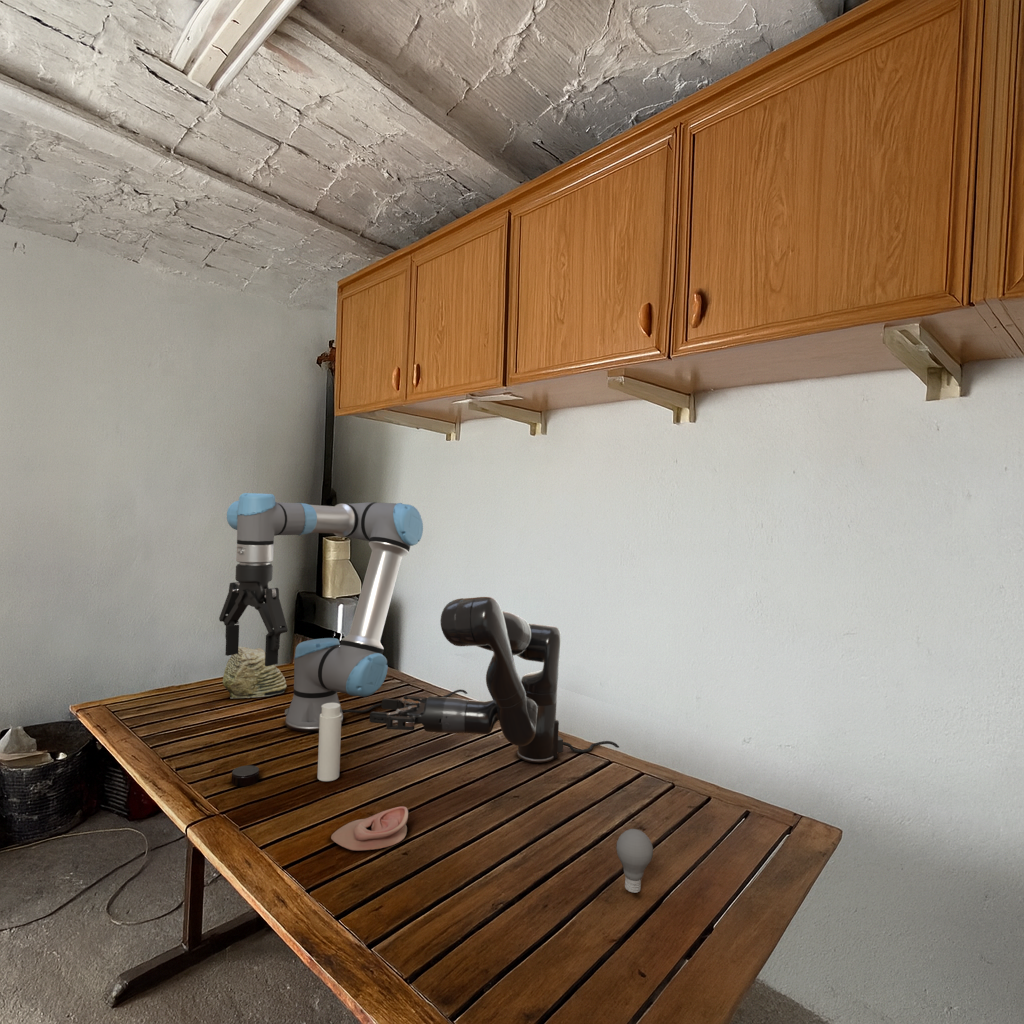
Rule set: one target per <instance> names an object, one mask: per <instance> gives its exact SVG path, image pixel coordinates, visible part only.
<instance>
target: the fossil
mask: <svg viewBox="0 0 1024 1024" xmlns="http://www.w3.org/2000/svg"><path fill="white" fill-rule="evenodd" d="M222 676H223V677H222V685H223V687H224V688H225V690H226V691H228V693H229V698H230V699H250V698H264V697H271V696H275V695H281V694H284V693H285V691H286V689H287V687H288V686H287V680H286V678H285V676H284V674H283V673H282V672H281V669H279V668H278V667H277V664H275V665H271V666H265V649H263V648H260V647H258V648H251V647H247V646H246V647H245V646H238V654H234V655H230V657H229V659H228V660H227V663H226V666H225V668H224V671H223V675H222Z"/></svg>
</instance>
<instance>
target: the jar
mask: <svg viewBox="0 0 1024 1024" xmlns="http://www.w3.org/2000/svg"><path fill="white" fill-rule="evenodd" d="M340 706H341V703H340V704H338V703H326V704H323V705H322V706H321V707H322V713H321V714H320V722H319V731H318V749H317V752H318V753H317V773H316V775H317V780H319V781H321V782H332V781H335V780H337V779H338V778H340V769H341V743H342V742H341V741H342V740H341V739H342V723H341V719H342V713H340V709H342V707H341V708H340Z"/></svg>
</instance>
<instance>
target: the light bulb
mask: <svg viewBox="0 0 1024 1024" xmlns="http://www.w3.org/2000/svg"><path fill="white" fill-rule="evenodd" d="M615 849H616V854H617V857H618V859H619V861H620V863H621V865H622V867H623V873H624V874H623V875H624V876H625V878H624V888H625V890H627V891H628V892H630V893H634V894H635V893H639V892H640V891H641V889H642V887H641V886H642V879H643V877H644V875H645V871H646V868H647V867H648V866H649V864H650V863H651V861H652V859H653V855H654V847H653V843H652V841H651V838H649V836H648V835H647V834H646V833H645V832H643V831H642V830H641V829H636V828H629V829H627V830H625V831H623V832H622V833H621V834H620V835H619V837H618V839H617V841H616V847H615Z"/></svg>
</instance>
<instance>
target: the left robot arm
mask: <svg viewBox="0 0 1024 1024" xmlns="http://www.w3.org/2000/svg"><path fill="white" fill-rule="evenodd" d="M226 520H227V524H228V525H229V527H230V528H232V529H233V530H234V531H236V562H237V564H236V565H235V579H234V580H235V581H234V582H230V583H229V586H228V587H229V588H228V593H227V595H226V596H227V597H226V598H225V601H224V604H223V607H222V609H221V612H220V614H219V618H218V620H219V622H223V625H224V626H225V635H224V637H225V653H224V654H225V656H231V655H234V654H238V647H240V646H239V645H240V644H239V642H240V641H239V640H240V622H239V620H240V618H241V617H242V615H243V614H244V612H245V611H246V609H247V608H248V606H250V607H253V608H254V609H255V610H256V611H258V613H259V616H260V617H261V620H262V622H263V624H264V626H265V629H266V631H267V633H266V635H265V647H264V648H265V649H264V652H265V666H271V665H278V664H279V650H280V647H281V645H280V644H281V643H280V642H281V635H282V634H284V633H288V631H289V629H288V624H287V621H286V618H285V614H284V611H283V608H282V603H281V601H280V589H279V587H272V588H270V587H269V583H270V582H271V581H272V580H273V573H274V572H273V570H274V567H273V564H272V562H274V549H275V548H274V545H275V544H274V543H275V540H274V539H275V536H302V535H309V534H333V535H335V537H338V538H349V539H355V540H361V541H366V542H368V546H369V547H370V549H371V554H370V557H369V560H368V565H367V568H366V572H365V574H364V579H363V582H362V586H361V590H360V593H359V597H358V601H357V605H356V606H355V607H356V608H355V611H354V615H353V618H352V622H351V626H350V629H349V632H348V634H347V635H346V636H344V637H343V638H341V641H340V640H339V639H338V638H335V637H324V638H323V637H322V638H313V639H308V640H304V641H302V642H299V643H298V644H297V645H296V647H295V652H294V653H295V654H294V657H293V659H294V660H293V662H294V663H293V665H294V666H293V695H292V696H293V697H292V699H291V702H290V704H289V707H288V708H286V709H284V716H285V726H286V728H287V729H289V730H291V731H294V732H295V731H296V732H301V733H316V732H318V733H319V722H320V714H321V713H322V707H321V706H322V705H323V704H326V703H338V704H340V708H341V709H340V713H342V719H341V724H342V723H343V722H344V714H343V713H355V714H364V713H367V712H369V711H371V710H373V709H375V708H377V707H382V702H381V703H376V704H373V705H371V706H369V707H368V708H366V709H359V710H358V709H342V706H341V702H340V699H339V695H338V693H342V694H346V695H349V696H353V697H361V698H362V697H365V698H367V697H370V696H372V695H373V694H375V693H376V692H377V691H378V690H380V688H381V687H382V686H383V684H384V682H385V680H386V679H387V678H386V677H387V674H388V669H389V666H388V659H387V658H386V656H385V655H383V653H384V650H385V648H384V646H383V645H382V643H381V640H382V636H383V632H384V628H385V624H386V621H387V616H388V613H389V608H390V606H391V601H392V597H393V594H394V590H395V585H396V581H397V578H398V574H399V570H400V566H401V563H402V559H403V558H404V557H406V556H408V555H409V553H410V549H411V547H413V546H416V545H417V544H419V543H420V541H421V539H422V537H423V532H424V522H423V518H422V515H421V513H420V511H419V510H418V508H417V507H415V506H414V505H411V504H407V503H403V502H397V503H394V502H375V501H369V502H357V503H355V502H354V503H338V504H335V505H334V506H332V505H320V504H319V505H318V504H310V503H309V504H308V503H302V502H283V501H282V502H281V501H276V495H274V494H273V493H258V492H257V493H255V492H243V493H242V494H241V493H240V495H239V497H238V500H235V501H233V502H232V503H231V504H230V505H229V506H228V508H227V511H226ZM457 693H464V695H467V694H468V692H467V691H466V690H465V689H456V690H454V691H452V692H450V693H448V694H445V695H442V697H448V698H450V697H451V696H453V695H454V694H455V695H456V694H457Z"/></svg>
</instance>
